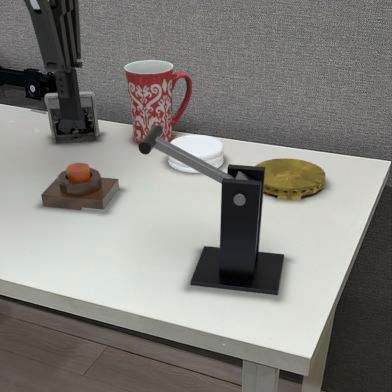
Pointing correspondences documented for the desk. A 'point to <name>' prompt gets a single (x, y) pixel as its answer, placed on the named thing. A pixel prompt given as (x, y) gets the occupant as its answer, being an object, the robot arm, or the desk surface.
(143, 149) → the switch lever
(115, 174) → the desk surface
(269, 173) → the compass
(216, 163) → the coaster
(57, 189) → the button block
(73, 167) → the button
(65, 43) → the robot arm
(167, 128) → the mug
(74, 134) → the electrical switch
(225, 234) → the stand
